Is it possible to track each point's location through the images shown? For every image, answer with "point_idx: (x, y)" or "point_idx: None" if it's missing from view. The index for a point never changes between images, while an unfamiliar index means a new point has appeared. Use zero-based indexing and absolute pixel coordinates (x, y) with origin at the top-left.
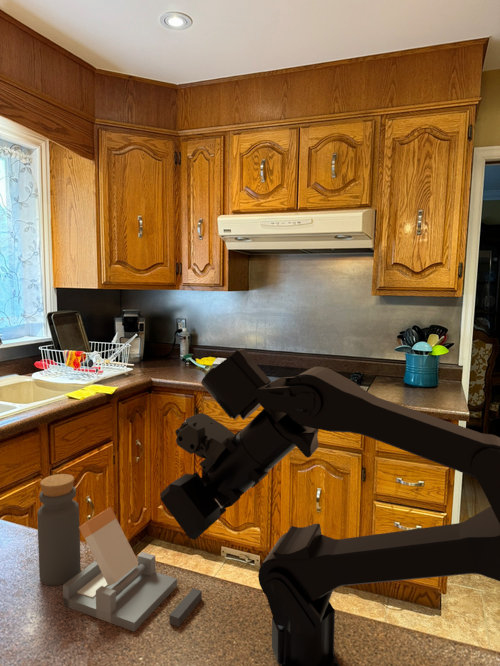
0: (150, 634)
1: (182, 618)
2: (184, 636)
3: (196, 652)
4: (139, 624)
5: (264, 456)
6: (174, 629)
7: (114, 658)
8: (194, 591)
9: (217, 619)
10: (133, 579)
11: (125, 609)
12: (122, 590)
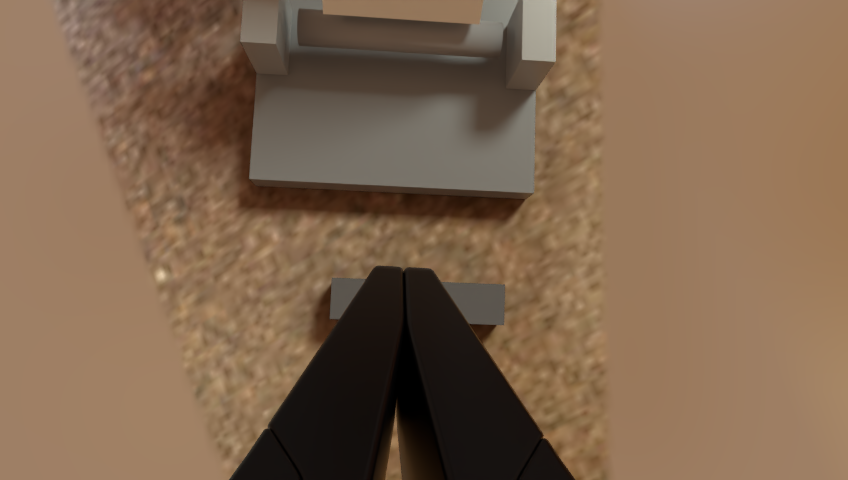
0: (265, 244)
1: None
2: (299, 361)
3: (248, 438)
4: (283, 186)
5: None
6: (317, 310)
7: (130, 194)
8: (489, 299)
9: None
10: (416, 51)
11: (298, 108)
12: (347, 48)
